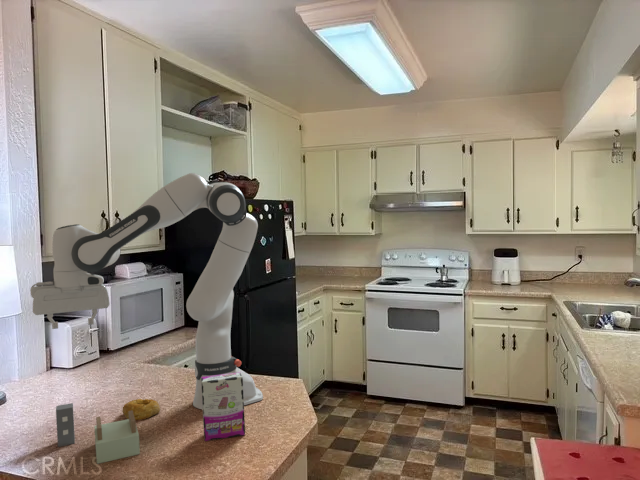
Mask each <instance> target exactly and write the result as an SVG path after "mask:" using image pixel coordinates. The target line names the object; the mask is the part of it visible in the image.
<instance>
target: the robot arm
mask: <svg viewBox="0 0 640 480" xmlns="http://www.w3.org/2000/svg"><path fill="white" fill-rule="evenodd" d="M246 204H247V203H246V199H245V196H244V194H243V192H242V191H241V190H240V188H239V187H238V186H237V185H235V184H234V183H231V182H227V181H216V182H215V181H213V182H211V181H210V182H207V181H206V179H205V178H204V177H203V176H201V175H200V174H198V173H195V172H190V173H187V174H183V176H180V177H178V178H176V179H174V180H173V181H170V182H169V183H167V184H165V185H164V186H163V187H161V188H159V189H158V190H157V191H155V192H154V193H153V194H152V195H151V196H150V197H148V198H147V199H146V200H145V201H144V202H143V203H142V204H141V205H140V206H139V207H138V208H137V209H135V210H134V211H133V212H132V213H131V214H129V215H128V216H126V217H125V218H123V219H122V220H120V221H118V222H117V223H115V224H113V225H112V226H110V227H109V228H107V229H106V230H104V231H102V232H100V233H98V232H95V231H93V230H90V229H88V228H87V227H84V226H83V225H82V224H69V225H64V226H60V227H58V228H56V229H55V230H54V231H53V236H52V249H51V250H52V258H53V262H54V265H53V271H52V272H53V280H52V281H43V282H41V281H39V282H36V283H34V284H32V285H31V287H30V288H29V289H30V296H31V298H32V299H33V300H32V313H33V314H34V315H35V316H41V315H46V318H47V319H48V321H49V322H50V323H51V327H52V328H51V329H52V330H54V329H59V322H58V321H55V320H54V319H53V317H54V314H62V313H72V312H82V311H90V310H91V313H92V315H91V317H89V318H87V319H88V320H87V322H88V323H87V324H88V326H91V325H95V321H94V319H95V317H97V314H98V310H100V309H101V310H102V309H108V308H109V307H110V306H111V305H110V303H111V301H110V295H109V291H108V289H107V287H106V286H105V284H104V281H105V279H104V277H103V276H102V275H98V274H95V273H96V272H98V271H100V270H102V269H104V268H107V267H108V266H111V265H113V264H114V263H116V262H117V261H118V259H119V258H120V255H121V248H123V247H124V246H126V245H128V244H129V243H131V242H132V241H134V240H135V239H137V238H139V237H140V236H141V235H143V234H146V233H148V232H152V231H155V230H158V229H163V228H166V227H169V226H171V225H174V224H175V223H177V222H180V221H181V220H183V219H185V218H186V217H187V216H189V215H190V214H192V212H194V211H197V210H199V209H204V208H206V209H208V210H209V211H210V213H212V214H213V215H214V216H215V217H216V218H217V219H219V220H220V221H222V228H221V232H220V234H219V236H218V238H217V241H216V243H215V246H214V247H213V248H214V249H213V250H212V253H211V255H210V258H209V260H208V262H207V263H206V266H205V268H204V269H203V271H202V273H201V274H200V276H199V278H198V280H197V282H196V283H195V285H194V287H193V289H192V291H191V293H190V294H189V296H188V298H187V299H186V305H185V307H186V311H187V313H188V315H189V317H190V318H191V319H193V320H194V321H197V322H198V324H197V330H196V334H195V357H196V358H195V361H194V375H195V380H196V381H195V392H194V397H193V401H192V406H193V407H194V408H197V409H199V410H203V407H202V388H201V377H206V376H214V375H221V374H229V373H238V372H241V375H242V378H243V397H244V406H247V405H249V404H253V403H256V402H260V401H262V400H263V398H264V395H263V392H262V391H261V390H260V388H258V387H256V383H255V381H254V379H253V377H252V376H251V375H250V374H249V373H247V372H246V371H244V370H242V369H240V368H239V367H241V365H242V361H241V360H240V359H238V358H236V357H234V356H232V349H231V345H232V344H231V330H232V329H231V328H232V320H233V308H234V297H235V291H234V287H235V286H236V284H237V282H238V280H239V279H240V277H241V275H242V274H243V270H244V268H245V265H246V264H247V261H248V258H249V257H250V254H251V251H252V249H253V247H254V245H255V244H254V243H255V240H256V237H257V233H258V228H259V224H258V220H257V219H256V218H255V216H253V215H252V214H250V213H248V212H247V205H246Z"/></svg>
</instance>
